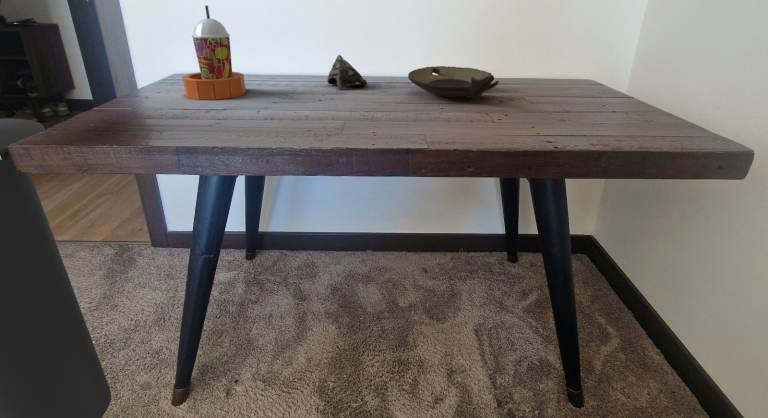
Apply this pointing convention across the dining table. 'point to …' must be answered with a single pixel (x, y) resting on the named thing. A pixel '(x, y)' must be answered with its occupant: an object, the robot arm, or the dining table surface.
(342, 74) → the fossil
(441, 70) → the broken bowl
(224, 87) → the ring
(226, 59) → the smoothie
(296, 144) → the dining table surface
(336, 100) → the dining table surface
